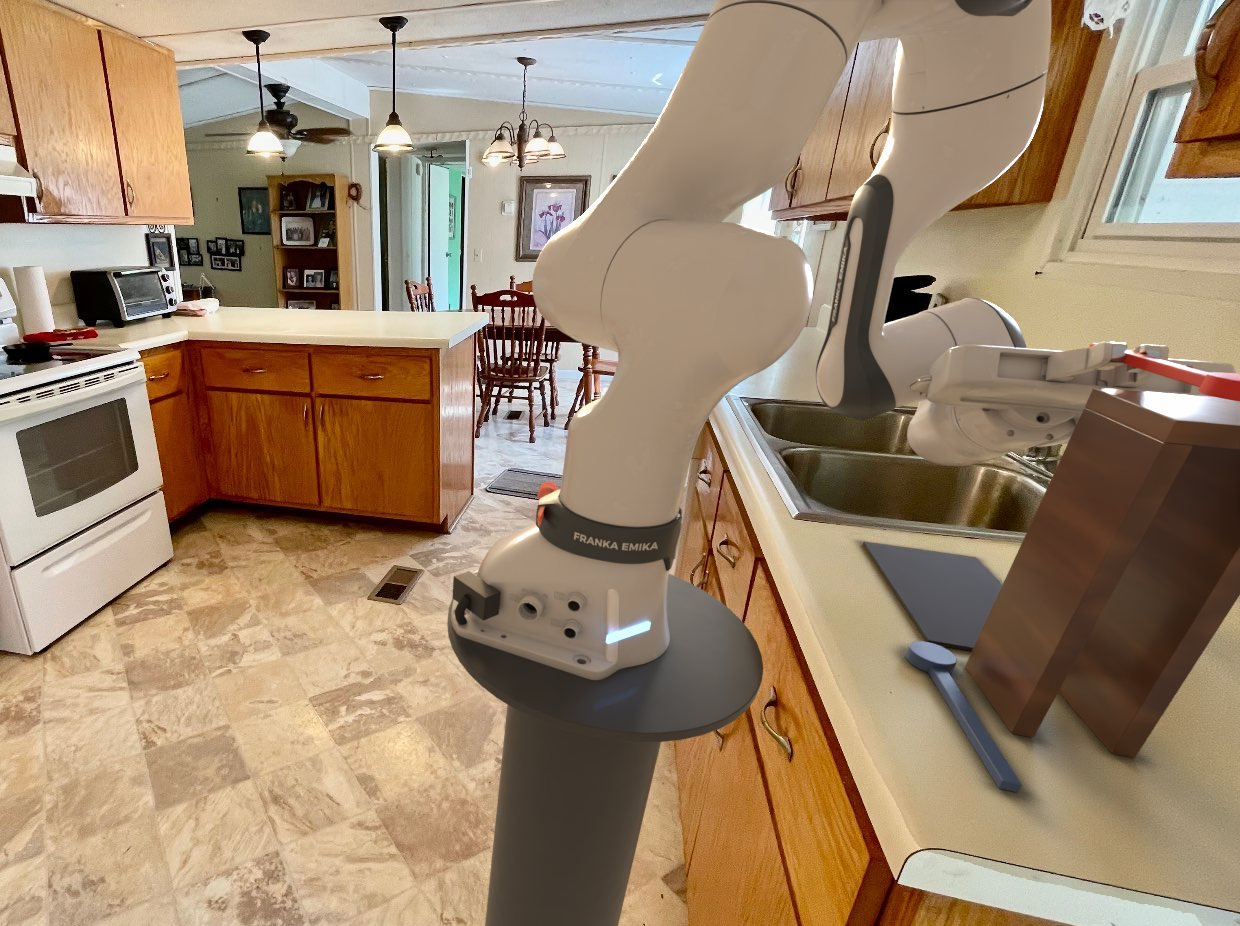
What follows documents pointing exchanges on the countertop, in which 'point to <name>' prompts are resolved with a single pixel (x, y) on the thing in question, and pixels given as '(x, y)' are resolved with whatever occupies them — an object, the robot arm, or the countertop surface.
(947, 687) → the blue spoon
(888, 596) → the countertop surface
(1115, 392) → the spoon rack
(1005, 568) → the countertop surface
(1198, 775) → the countertop surface
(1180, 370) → the red spoon
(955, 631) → the charcoal mat
